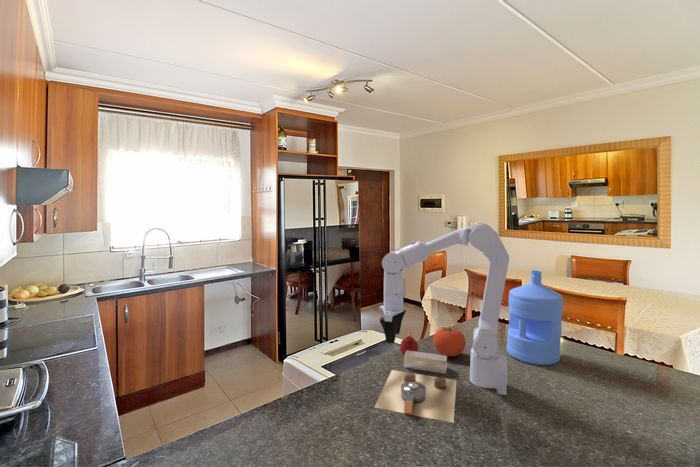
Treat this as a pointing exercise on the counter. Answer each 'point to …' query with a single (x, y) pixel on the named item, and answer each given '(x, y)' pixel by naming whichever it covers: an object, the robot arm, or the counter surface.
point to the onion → (408, 344)
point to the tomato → (449, 341)
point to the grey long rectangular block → (425, 361)
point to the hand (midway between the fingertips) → (393, 338)
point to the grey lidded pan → (412, 395)
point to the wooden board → (436, 396)
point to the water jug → (535, 323)
